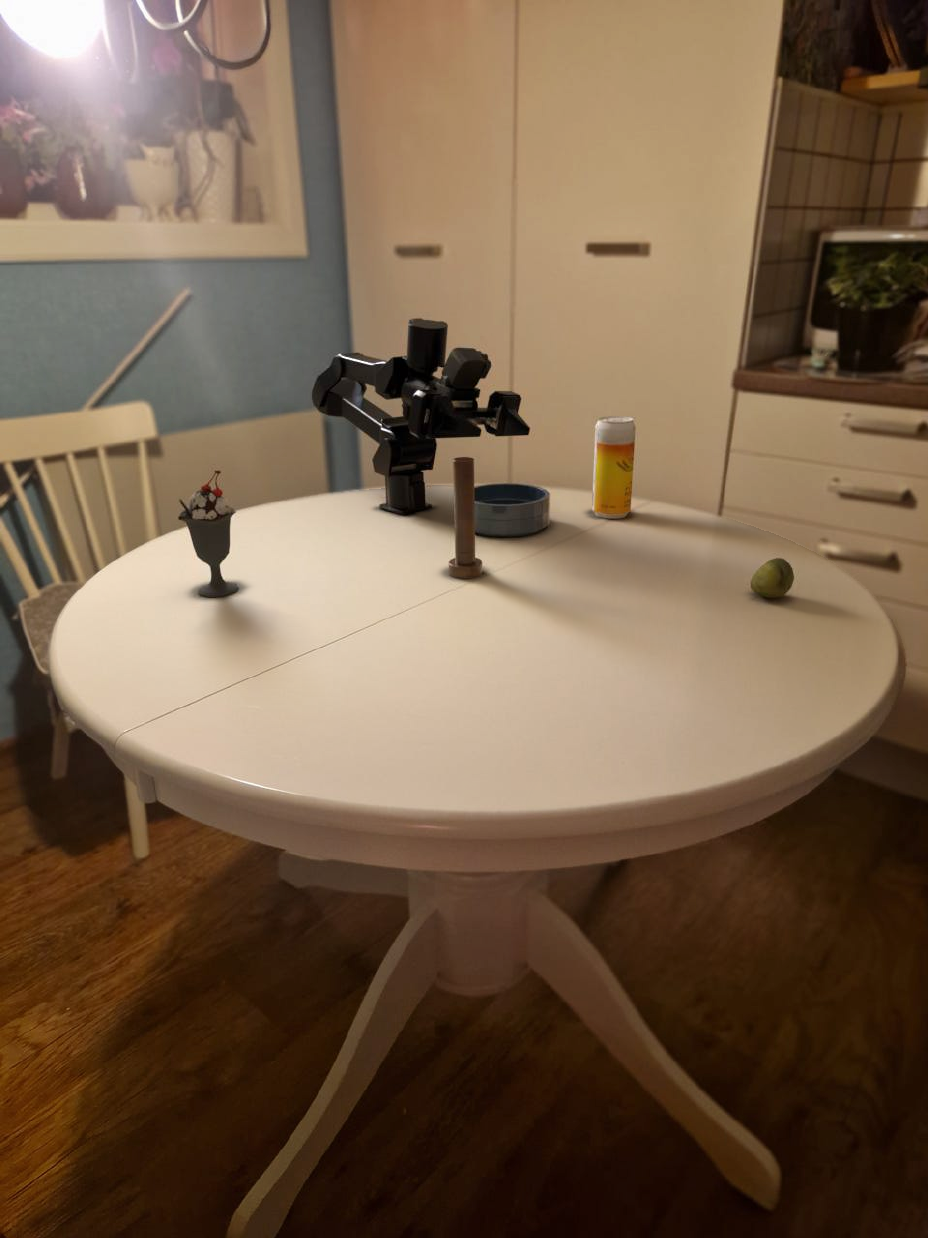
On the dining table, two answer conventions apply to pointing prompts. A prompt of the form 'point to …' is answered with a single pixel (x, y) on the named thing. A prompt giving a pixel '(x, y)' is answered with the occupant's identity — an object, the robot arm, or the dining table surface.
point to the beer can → (613, 466)
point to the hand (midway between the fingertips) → (505, 432)
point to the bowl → (510, 509)
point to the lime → (773, 578)
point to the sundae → (210, 534)
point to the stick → (464, 521)
